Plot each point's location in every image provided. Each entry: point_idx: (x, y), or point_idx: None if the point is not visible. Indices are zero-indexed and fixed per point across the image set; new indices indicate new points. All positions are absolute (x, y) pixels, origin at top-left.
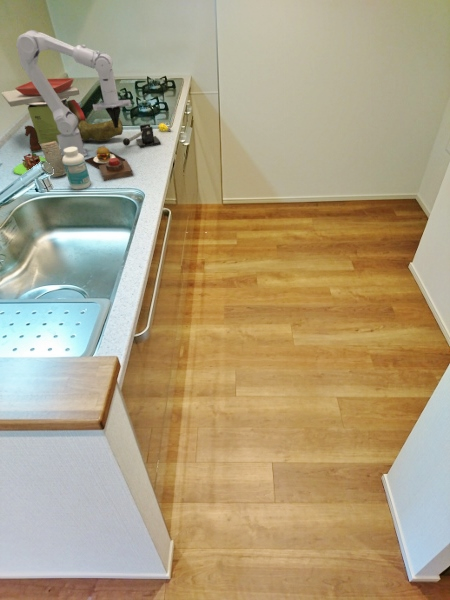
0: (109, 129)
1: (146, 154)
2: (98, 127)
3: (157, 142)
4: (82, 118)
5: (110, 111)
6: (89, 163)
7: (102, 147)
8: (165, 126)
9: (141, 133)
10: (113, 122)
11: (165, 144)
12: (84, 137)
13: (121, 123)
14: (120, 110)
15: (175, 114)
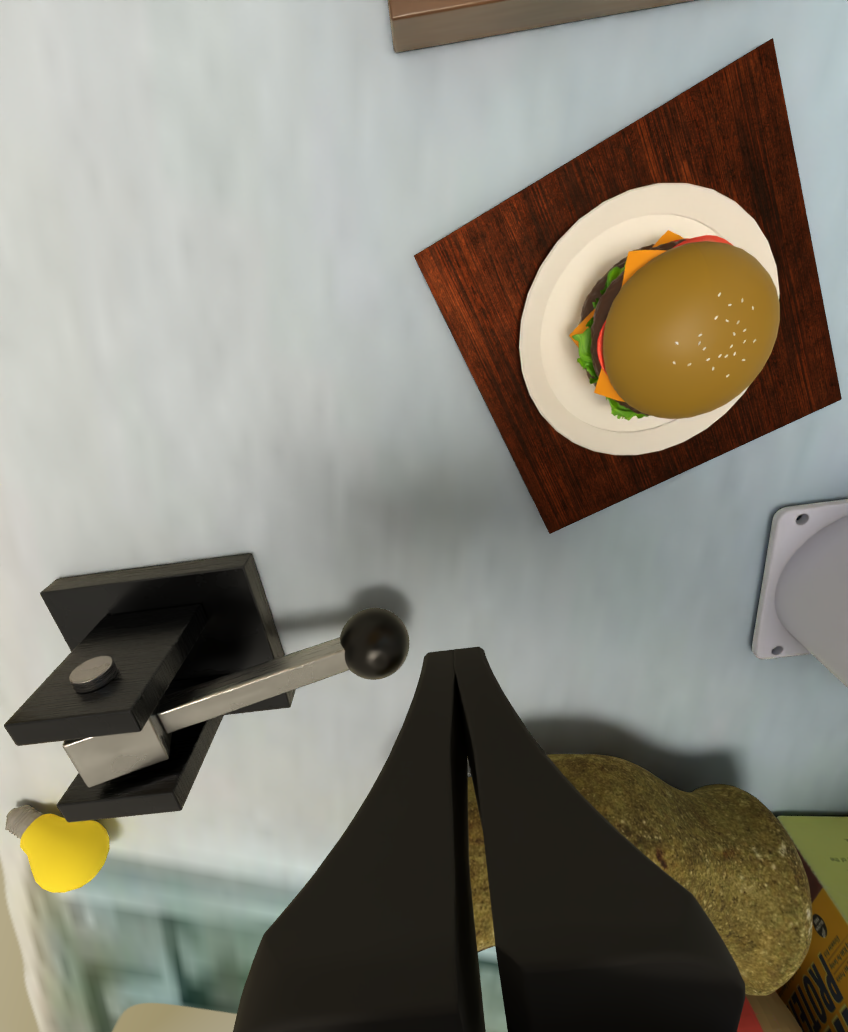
0: None
1: (177, 372)
2: None
3: (68, 588)
4: (744, 1026)
5: (626, 969)
6: (815, 294)
7: (706, 344)
8: (32, 850)
9: (190, 697)
10: (510, 708)
11: (9, 571)
12: (735, 798)
13: None
14: (244, 990)
15: (45, 1014)
